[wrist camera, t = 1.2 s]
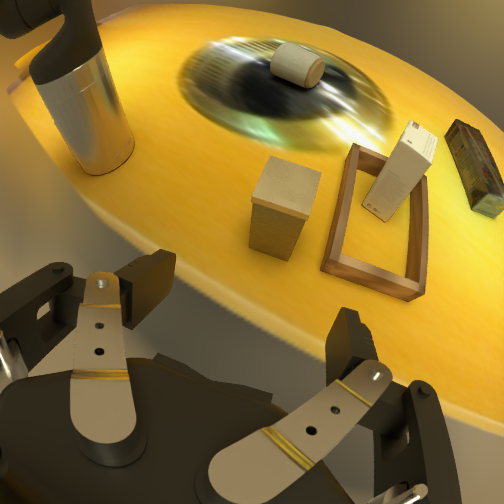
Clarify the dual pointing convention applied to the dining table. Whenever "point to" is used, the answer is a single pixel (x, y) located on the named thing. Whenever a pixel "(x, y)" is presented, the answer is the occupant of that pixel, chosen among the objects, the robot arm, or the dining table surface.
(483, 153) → the beverage carton
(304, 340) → the dining table surface
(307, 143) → the dining table surface
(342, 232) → the crate
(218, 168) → the dining table surface
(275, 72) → the ceramic mug
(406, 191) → the skincare box
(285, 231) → the tea tin
